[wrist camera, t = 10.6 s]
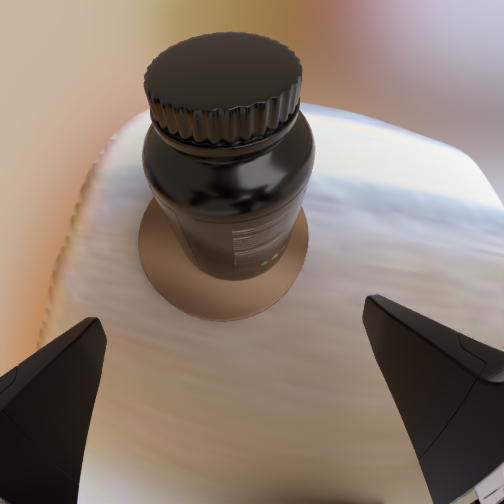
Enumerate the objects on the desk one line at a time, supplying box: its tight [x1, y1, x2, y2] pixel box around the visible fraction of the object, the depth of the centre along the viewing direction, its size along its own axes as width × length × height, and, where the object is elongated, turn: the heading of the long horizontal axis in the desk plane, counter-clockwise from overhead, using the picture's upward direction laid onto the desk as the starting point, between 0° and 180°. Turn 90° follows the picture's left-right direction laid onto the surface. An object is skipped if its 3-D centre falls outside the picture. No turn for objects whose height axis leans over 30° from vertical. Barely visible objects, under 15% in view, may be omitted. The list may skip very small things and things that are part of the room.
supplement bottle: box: [142, 32, 315, 281], centre depth 13 cm, size 7×7×12 cm
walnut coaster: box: [138, 196, 308, 321], centre depth 19 cm, size 11×11×2 cm
